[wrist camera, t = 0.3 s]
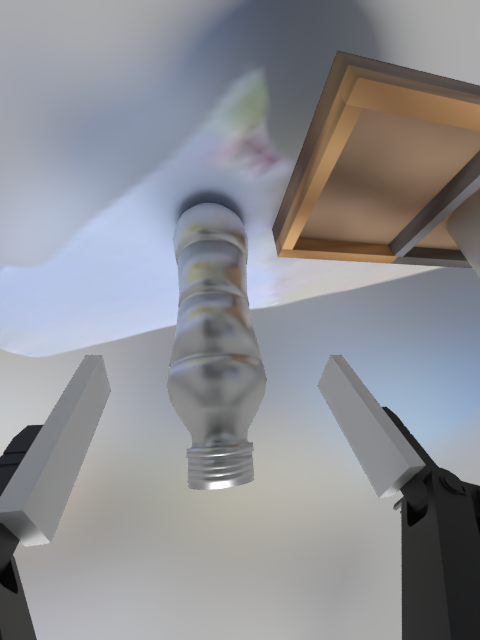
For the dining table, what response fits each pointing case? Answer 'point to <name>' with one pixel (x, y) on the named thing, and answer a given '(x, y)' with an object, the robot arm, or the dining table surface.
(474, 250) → the bottle
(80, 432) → the robot arm
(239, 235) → the plastic bottle
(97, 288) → the dining table surface
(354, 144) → the tray
